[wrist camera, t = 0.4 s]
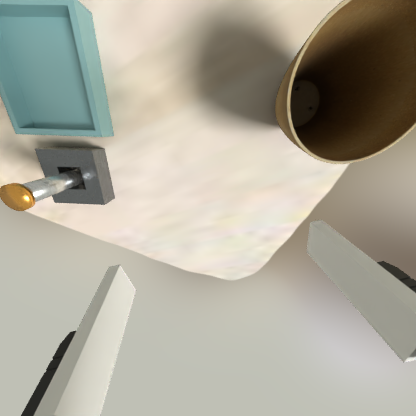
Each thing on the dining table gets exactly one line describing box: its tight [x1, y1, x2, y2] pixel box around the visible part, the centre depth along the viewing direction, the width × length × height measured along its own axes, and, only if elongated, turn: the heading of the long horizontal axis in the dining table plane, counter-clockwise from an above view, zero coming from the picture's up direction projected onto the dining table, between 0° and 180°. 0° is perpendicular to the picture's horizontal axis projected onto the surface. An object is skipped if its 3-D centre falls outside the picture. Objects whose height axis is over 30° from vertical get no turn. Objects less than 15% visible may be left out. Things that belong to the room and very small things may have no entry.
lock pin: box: [0, 168, 84, 211], centre depth 32 cm, size 4×4×15 cm
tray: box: [0, 0, 114, 137], centre depth 29 cm, size 18×16×4 cm
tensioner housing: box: [35, 147, 115, 205], centre depth 37 cm, size 11×11×4 cm
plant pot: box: [275, 0, 416, 164], centre depth 24 cm, size 15×15×16 cm
